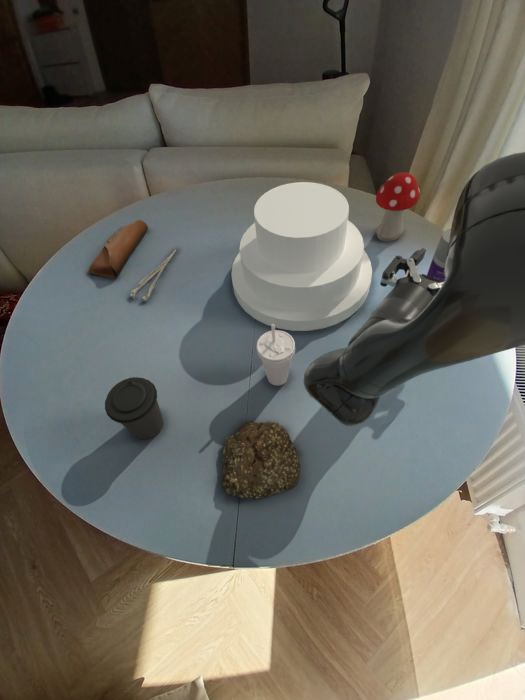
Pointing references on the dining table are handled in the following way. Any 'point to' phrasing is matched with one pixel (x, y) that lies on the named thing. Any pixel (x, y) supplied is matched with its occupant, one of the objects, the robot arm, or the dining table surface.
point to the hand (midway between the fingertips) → (445, 262)
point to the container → (440, 258)
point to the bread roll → (259, 461)
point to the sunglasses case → (118, 250)
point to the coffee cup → (135, 407)
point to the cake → (301, 259)
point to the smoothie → (276, 354)
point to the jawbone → (149, 276)
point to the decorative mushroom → (396, 204)
